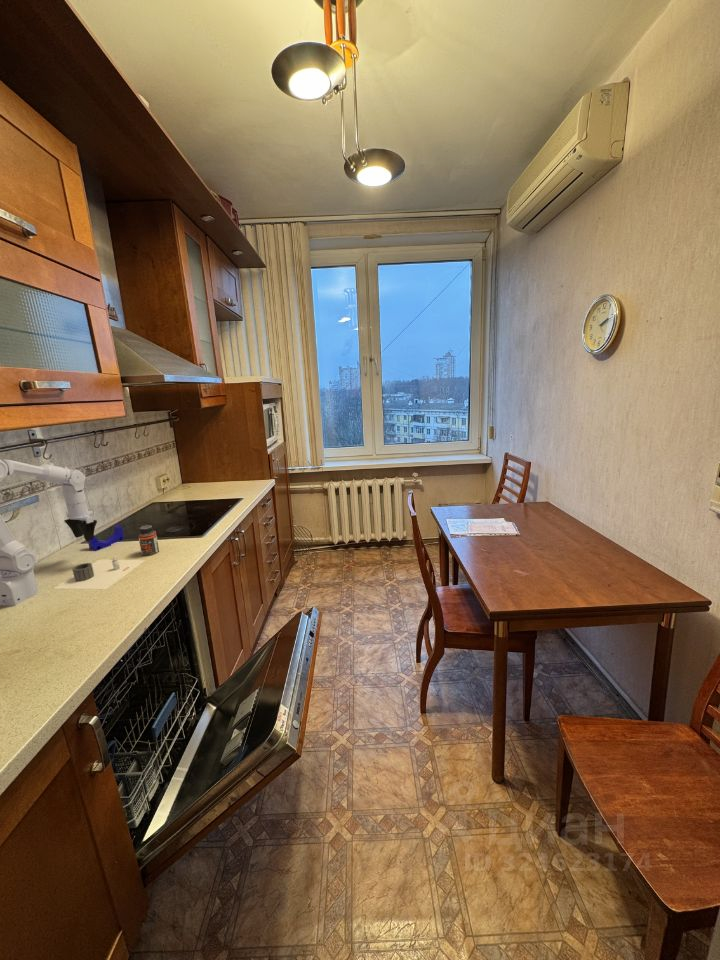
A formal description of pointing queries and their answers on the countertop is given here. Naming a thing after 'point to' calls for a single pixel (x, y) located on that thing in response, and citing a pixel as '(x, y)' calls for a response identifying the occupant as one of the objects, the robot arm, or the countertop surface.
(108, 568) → the socket plate
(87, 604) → the countertop surface
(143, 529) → the supplement bottle
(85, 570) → the grey grooved ring
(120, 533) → the blue curved bracket
